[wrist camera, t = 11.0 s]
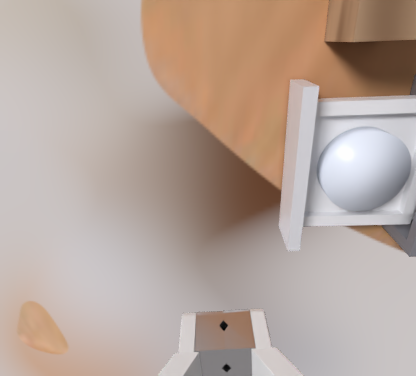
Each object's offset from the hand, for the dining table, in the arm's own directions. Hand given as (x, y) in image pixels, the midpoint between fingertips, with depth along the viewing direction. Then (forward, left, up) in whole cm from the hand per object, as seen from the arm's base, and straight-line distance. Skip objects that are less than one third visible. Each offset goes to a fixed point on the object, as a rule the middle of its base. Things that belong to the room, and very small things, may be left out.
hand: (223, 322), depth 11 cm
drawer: (-13, 0, -16) cm, 20 cm away
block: (-10, -11, -16) cm, 22 cm away
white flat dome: (-11, 0, -15) cm, 18 cm away
